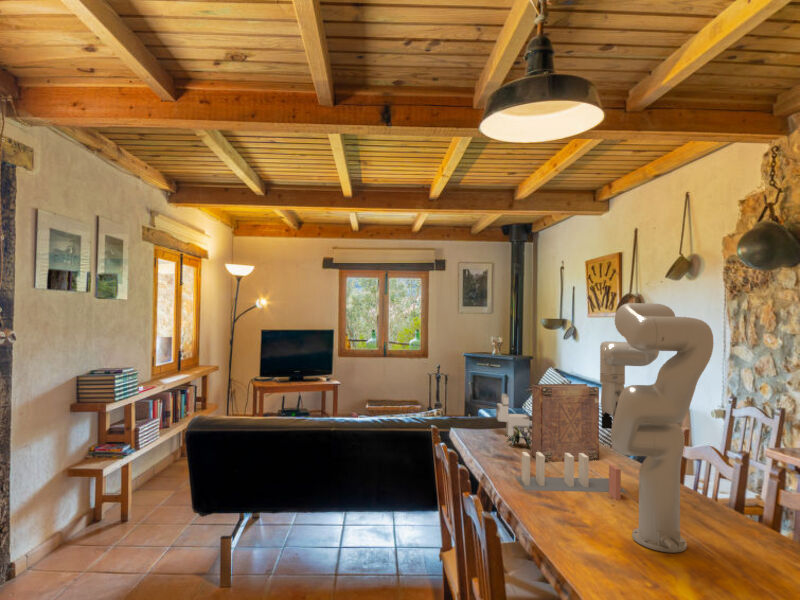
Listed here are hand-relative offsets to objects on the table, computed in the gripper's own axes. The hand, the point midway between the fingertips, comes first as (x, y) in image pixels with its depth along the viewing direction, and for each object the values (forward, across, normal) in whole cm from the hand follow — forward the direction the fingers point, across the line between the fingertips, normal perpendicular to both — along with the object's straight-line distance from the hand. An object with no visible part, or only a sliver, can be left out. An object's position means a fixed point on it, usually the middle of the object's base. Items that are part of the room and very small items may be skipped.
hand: (612, 431), depth 162 cm
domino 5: (+21, -1, 0) cm, 21 cm away
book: (+21, +43, +3) cm, 48 cm away
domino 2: (+20, +8, +21) cm, 31 cm away
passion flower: (+21, +59, +19) cm, 65 cm away
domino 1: (+20, +8, +26) cm, 34 cm away
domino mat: (+21, +9, +11) cm, 25 cm away
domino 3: (+20, +9, +11) cm, 25 cm away
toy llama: (+21, +80, +17) cm, 84 cm away
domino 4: (+20, +9, +6) cm, 23 cm away
